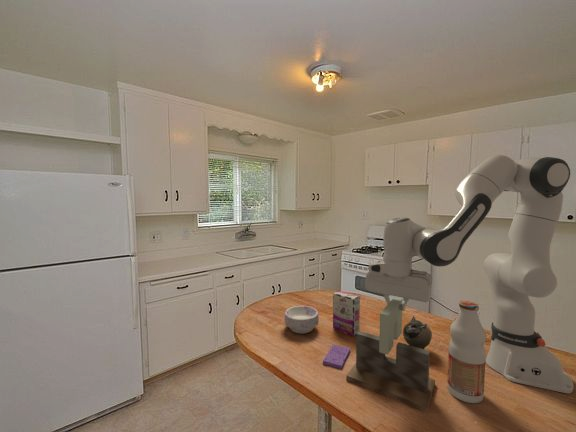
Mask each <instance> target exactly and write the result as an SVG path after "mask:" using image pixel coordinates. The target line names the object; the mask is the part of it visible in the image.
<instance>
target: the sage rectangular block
mask: <svg viewBox="0 0 576 432" xmlns="http://www.w3.org/2000/svg"><path fill="white" fill-rule="evenodd" d="M390 301H391V302H390V303H389V304H388V305H387V304H386V306H385V307H384V308H383V309H382V310H381V311H380V312H379V335H378V336H379V352H380V353H383V354H385V356H387V355H389V354H390V352H391V350H392V348H393V347H394V340H395V341H398V339H399V338H400V336H401V335H402V334H403V325H402V324H403V311H401V310H399V308H400V307H399V305H400V304H403V298H402V297H396V296H393V298H392V299H390Z"/></svg>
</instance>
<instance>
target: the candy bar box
mask: <svg viewBox="0 0 576 432" xmlns="http://www.w3.org/2000/svg"><path fill="white" fill-rule="evenodd" d="M360 302H361V301H360V295H355V294H353V293H349V292H345V291H341V290H338V291H336V292H335V291H334V292H332V328H333V329H335V330H337V331H339V332H341V333H344V334H347V335H349V336H351V337H355V336H357V333H358V332H359V331H360V314H361V313H360V309H361V307H360V305H361V304H360Z"/></svg>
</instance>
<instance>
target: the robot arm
mask: <svg viewBox="0 0 576 432" xmlns="http://www.w3.org/2000/svg"><path fill="white" fill-rule="evenodd" d="M570 178H571V169H570V166H569V165H568V163H567V162H566V161H565V160H564V159H562V158H560V157H559V158H558V157H551V156H545V157H525V158H520V159H515V160H514V159H512V158H511V157H509V156H507V155H502V154H495V155H492V156H490V157H488V158H486V159H485V160H484V161H482V162H481V163H479V164H478V165H477V166H475V168H473V169H472V170H471V171H470V172H469V173H468V174H467V175H466V176H465V177H463V179H462V180H461V181H460V182H459V183H458V185H457V186H456V188H455V197H456V200H457V202H458V203H459V204H460V205H461V208H460V210H459V211H458V213H456V215H455V216H454V217H453V219H452V220H451V221H450V222H449V223H448V224H447V226H446V227H444V228H442V229H438V230H435V229H432V228H427V227H425V226H423V225H420V224H418V223H416V222H414V221H413V220H411V219H410V218H409V217H397V218H396V217H395V218H392V219H390V220H388V221H387V222H386V223H385V225H384V230H383V243H382V245H383V250H384V251H383V256H382V260H377V261H373V262H371V263H370V264H369V265H368V267H367V268H368V272H367V273H366V275H365V284H364V287H365V289H366V291H368V292H372V293H377V294H381V295H382V294H383V299H384V300H385V302H386V306H387V305H388V304H389V303H390V302H391V299H390V296H392V297H399V298H403V299H402V302H403V303H402V304H400V305H399V307H400V308H399V310H401V311H402V312H405V311H406V305H407V304H408V302H409V301H410V300H413V301H416V302H417V301H418V302H422V303H428V302H429V301H430V300H431V299H432V291H431V290H432V289H431V286H432V284H433V277H432V275H431V274H430V273H429V272H427V271H423V270H422V271H421V270H417V269H412V267H413V257H419V258H420V259H423V260H424V261H426V262H427V263H428V264H431V265H432V266H435V267H446V266H448V265H451V264H452V263H454V262H455V261H456V259H458V257H459V255H460V253H461V251H462V249H463V246H464V245H465V243H466V242H467V241H468V239H469V238H470V236H471V235H472V234H473V233H474V231H475V230H476V229H477V228H478V227H479V225H480V224H481V223H483V221H484V219H486V217H487V215H488V214H489V212H490V211H491V208H492V204H493V203H494V202H495V200H497V199H498V197H499V196H500V195H502V193H504V192H513V193H519V194H520V201H519V203H518V205H517V207H516V210H515V213H514V215H513V219H512V222H511V225H510V227H509V231H508V233H507V238H508V240H509V243H510V247H511V248H510V249H511V253H508V252H495V253H491V254H489V255H488V256H487V257H485V260H484V262H483V270H484V271H485V273H486V275H487V276H488V280H489V285H490V287H491V288H490V289H491V294H492V298H493V317H492V318H493V321H492V322H491V325H490V341H491V342H490V346H489V350H488V352H487V355H486V361H485V364H487V366H489V368H491V369H493V370H494V371H495V372H497V373H499V374H501V375H502V376H503V377H504V378H505V379H506V380H508V381H509V382H513V383H517V384H522V385H527V386H530V387H536V388H541V389H544V390H549V391H554V392H558V393H559V392H560V393H562V394H563V393H564V394H571V393H573V392H574V382H573V380H572V378H571V377H570V376H569V374H568V373H567V372H565V371H564V368H563V364H562V362H561V360H560V359H559V358H558V357H557V356H556V355H555V354H554V353H552V351H550V350H549V349H548V348H546V347H545V346H546V345H547V344H546V341H545V340H544V339H543V337H542V336H541V335H540V333H539V331H535V321H536V309H535V307H534V304H533V303H532V302H531V300H530V297H533V298H539V299H541V298H546V297H549V296H550V295H551V294H552V293H554V292H555V290H556V288H557V286H558V280H557V277H556V275H555V272H554V271H553V268H552V266H551V265H552V264H551V260H550V258H551V256H550V255H551V254H550V250H551V249H550V248H551V245H552V240H553V238H554V234H555V231H556V229H557V226H558V222H559V220H560V217H561V214H562V208H563V201H564V194H563V192H562V191H563V190H564V188H565V187H566V186H567V184H568V183H569V180H570Z"/></svg>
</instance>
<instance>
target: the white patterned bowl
mask: <svg viewBox="0 0 576 432" xmlns="http://www.w3.org/2000/svg"><path fill="white" fill-rule="evenodd" d="M284 311H285V312H284V323H285V326H286V327H288V328H290V330H291V331H292V332H293V333H295V334H296V333H297V334H307V333H310V332H312V331H313V330H314V328H316V327H317V326H318V325H319V310H317V309H316V308H314V307H313V306H309V305H296V306H291V307H288V308H287V309H286V310H284Z"/></svg>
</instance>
